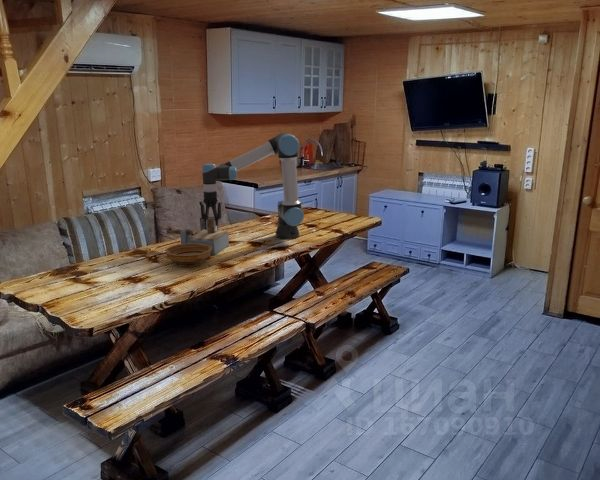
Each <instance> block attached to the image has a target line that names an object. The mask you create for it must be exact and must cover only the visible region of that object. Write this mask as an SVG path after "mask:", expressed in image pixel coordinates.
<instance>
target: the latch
mask: <svg viewBox="0 0 600 480" xmlns="http://www.w3.org/2000/svg"><path fill="white" fill-rule="evenodd" d="M180 231H186V235H191V236H192V235H194V232H193V230H185V229H176V228H175V229H174V228H172V227H168V229H166V234H167V235H170V234H172V235H180Z"/></svg>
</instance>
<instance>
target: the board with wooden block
mask: <svg viewBox="0 0 600 480" xmlns="http://www.w3.org/2000/svg"><path fill="white" fill-rule="evenodd" d="M214 220H215V218H209V219H207V230H202V231H201V230H200V231H199V232H197V233H195V234H192V235H191V237H189V240H203V241H215V240H217V239H218V238H220V237H222V236H223V235H225V234H227V233H228V230H218V231H214Z"/></svg>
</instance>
